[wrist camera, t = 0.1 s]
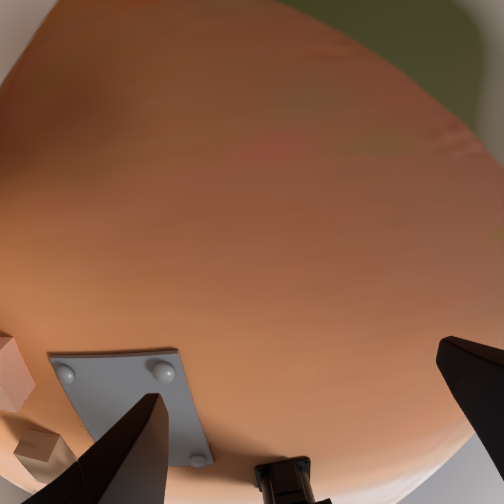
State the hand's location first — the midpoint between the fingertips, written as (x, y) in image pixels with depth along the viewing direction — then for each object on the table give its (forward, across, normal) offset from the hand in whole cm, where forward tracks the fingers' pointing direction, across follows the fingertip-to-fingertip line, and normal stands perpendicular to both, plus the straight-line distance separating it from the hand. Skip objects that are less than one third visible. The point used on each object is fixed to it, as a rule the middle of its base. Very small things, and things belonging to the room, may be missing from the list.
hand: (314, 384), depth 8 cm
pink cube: (+15, +28, +8) cm, 33 cm away
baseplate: (+15, +14, +15) cm, 25 cm away
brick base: (+15, +29, +22) cm, 39 cm away
